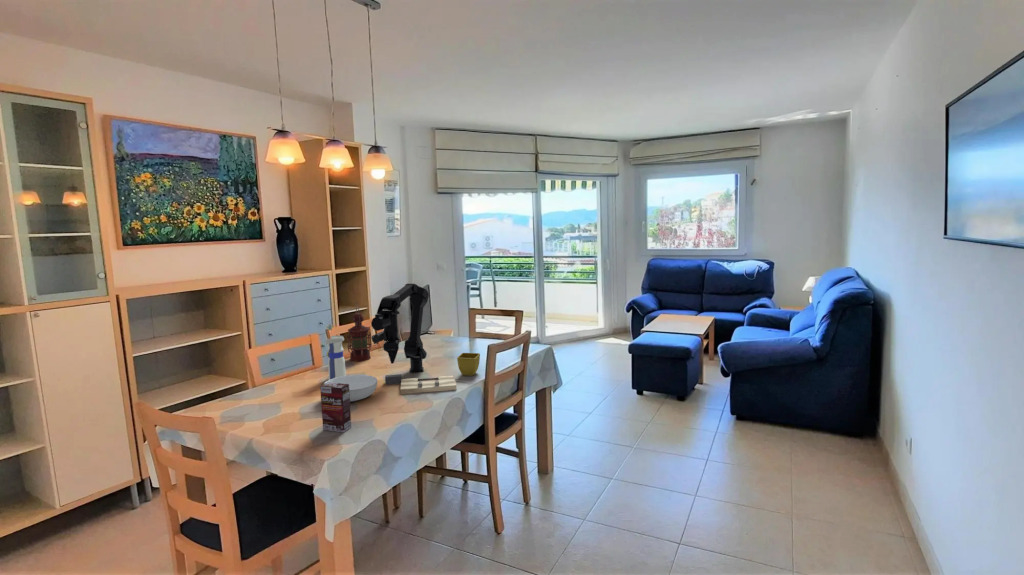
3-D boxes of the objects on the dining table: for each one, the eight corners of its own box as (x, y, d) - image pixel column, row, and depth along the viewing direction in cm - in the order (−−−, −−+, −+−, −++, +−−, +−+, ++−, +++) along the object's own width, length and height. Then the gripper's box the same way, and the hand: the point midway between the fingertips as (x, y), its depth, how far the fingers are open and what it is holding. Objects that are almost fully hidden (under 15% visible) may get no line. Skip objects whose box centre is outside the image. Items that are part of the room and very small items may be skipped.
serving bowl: (357, 409, 196) (356, 392, 195) (313, 404, 204) (311, 387, 203) (388, 392, 216) (387, 376, 215) (347, 387, 223) (346, 372, 222)
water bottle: (323, 380, 233) (319, 326, 230) (335, 375, 241) (331, 322, 238) (338, 381, 231) (335, 327, 228) (350, 376, 239) (347, 323, 236)
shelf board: (401, 383, 227) (401, 375, 226) (454, 379, 231) (453, 371, 230) (400, 394, 213) (400, 385, 213) (456, 389, 217) (456, 381, 217)
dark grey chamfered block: (385, 382, 229) (385, 375, 228) (402, 381, 230) (401, 374, 230) (385, 384, 226) (385, 377, 226) (401, 383, 227) (401, 376, 227)
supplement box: (322, 430, 177) (319, 386, 175) (330, 425, 182) (327, 381, 180) (344, 432, 175) (341, 387, 173) (352, 427, 179) (349, 383, 177)
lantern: (346, 357, 272) (342, 301, 268) (369, 354, 278) (366, 299, 274) (350, 363, 261) (346, 304, 257) (374, 359, 267) (371, 302, 263)
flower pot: (475, 377, 234) (475, 358, 233) (457, 376, 236) (456, 357, 234) (480, 371, 242) (480, 353, 241) (462, 371, 244) (462, 352, 243)
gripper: (373, 322, 232) (375, 356, 234) (370, 331, 214) (372, 367, 216) (398, 321, 234) (400, 354, 236) (397, 329, 216) (399, 365, 218)
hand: (392, 360), depth 227 cm, fingers open, 9 cm apart
